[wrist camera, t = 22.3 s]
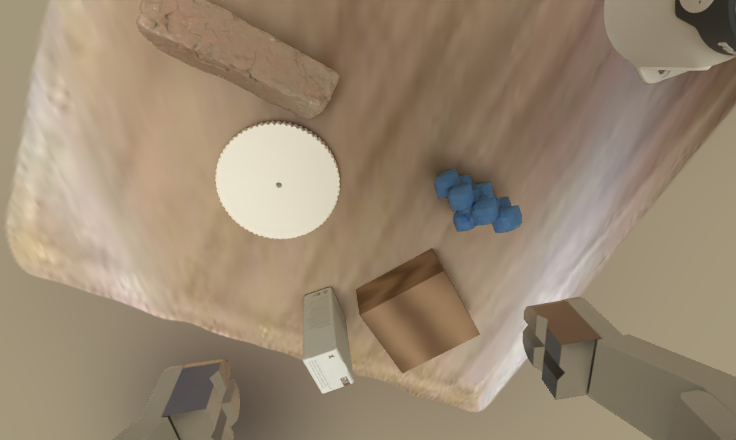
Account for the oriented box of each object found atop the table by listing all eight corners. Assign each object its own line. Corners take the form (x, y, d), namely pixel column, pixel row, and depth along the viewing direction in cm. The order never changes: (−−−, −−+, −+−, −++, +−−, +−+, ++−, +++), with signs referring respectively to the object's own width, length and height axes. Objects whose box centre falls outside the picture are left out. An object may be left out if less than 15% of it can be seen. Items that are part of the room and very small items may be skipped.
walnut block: (431, 247, 53) (444, 270, 48) (465, 307, 58) (480, 334, 52) (355, 288, 54) (359, 315, 49) (395, 343, 59) (402, 373, 54)
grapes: (404, 193, 49) (428, 235, 38) (431, 145, 47) (465, 176, 36) (478, 228, 52) (519, 276, 41) (507, 185, 50) (558, 224, 39)
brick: (343, 72, 35) (323, 120, 35) (324, 86, 43) (307, 125, 43) (152, -36, 29) (128, 21, 30) (170, 3, 37) (151, 48, 37)
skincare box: (302, 295, 54) (297, 360, 43) (332, 284, 53) (336, 346, 42) (319, 328, 56) (319, 396, 45) (348, 317, 56) (355, 384, 45)
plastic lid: (204, 204, 47) (198, 212, 45) (244, 97, 43) (240, 100, 40) (311, 245, 51) (310, 255, 49) (358, 151, 46) (360, 156, 44)
